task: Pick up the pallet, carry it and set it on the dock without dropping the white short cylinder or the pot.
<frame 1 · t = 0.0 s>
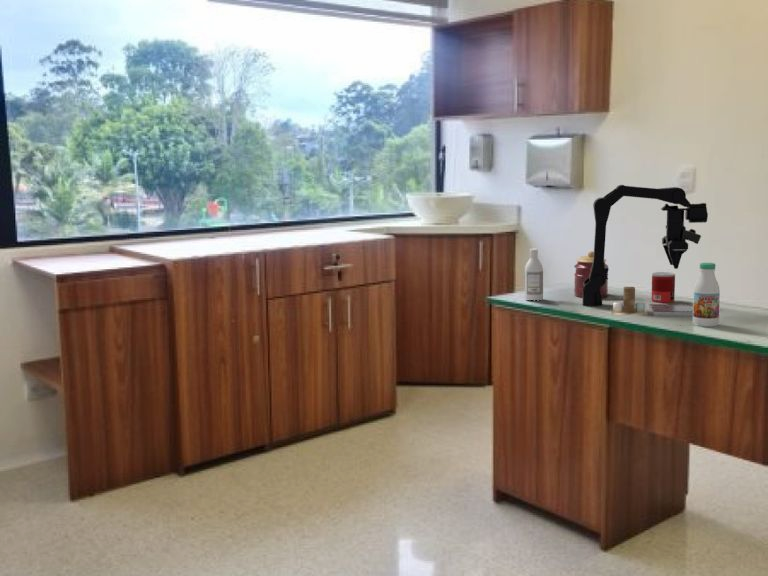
hand: (674, 266, 274), 15 cm above the table, fingers open, 9 cm apart
canister: (590, 296, 304), on the table
milk bottle: (705, 325, 247), on the table
white short cylinder a: (617, 311, 269), point 1 cm above the table, touching pallet
pot b: (640, 311, 267), point 1 cm above the table, touching pallet
pallet: (628, 315, 268), on the table, touching white short cylinder a, pot b
bath foam: (533, 300, 299), on the table
canned food: (662, 303, 285), on the table
dock: (671, 313, 265), on the table
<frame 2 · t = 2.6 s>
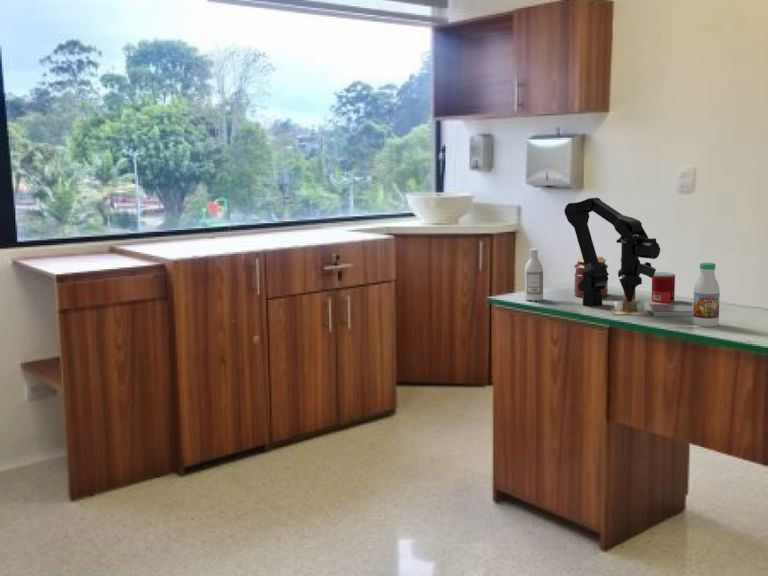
hand: (629, 300, 268), 5 cm above the table, fingers closed on pallet, 3 cm apart
pallet: (629, 313, 268), on the table, touching gripper, white short cylinder a, pot b
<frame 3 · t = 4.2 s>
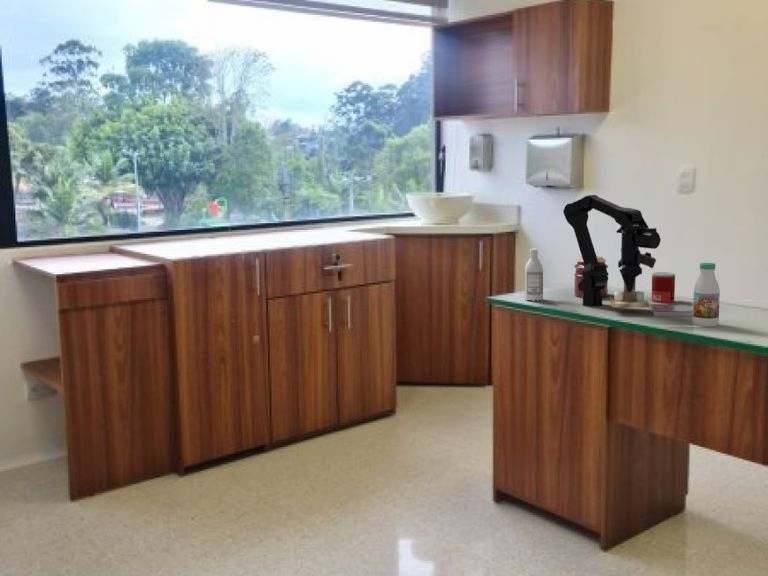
hand: (629, 291, 267), 8 cm above the table, fingers closed on pallet, 3 cm apart
white short cylinder a: (619, 300, 268), point 5 cm above the table, touching pallet
pot b: (639, 300, 267), point 5 cm above the table, touching pallet
pallet: (629, 304, 268), point 3 cm above the table, touching gripper, white short cylinder a, pot b
everything else where it was.
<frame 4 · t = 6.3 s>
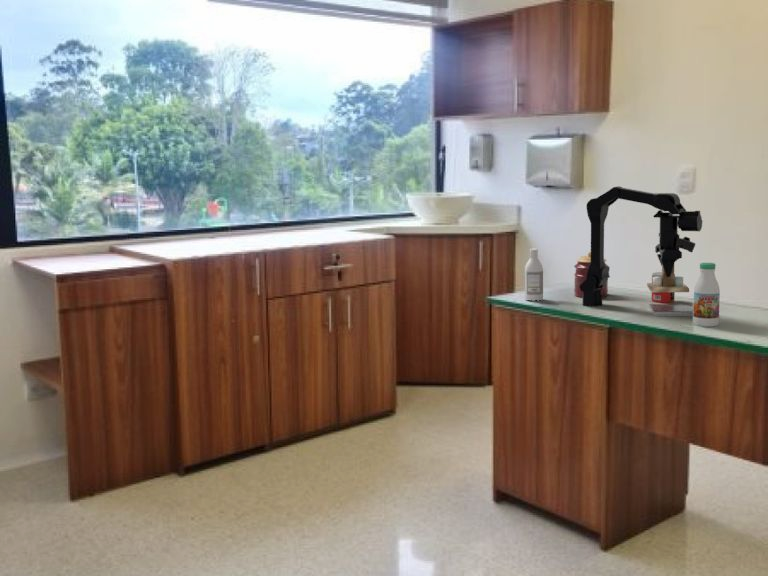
hand: (667, 276, 263), 13 cm above the table, fingers closed on pallet, 3 cm apart
white short cylinder a: (657, 285, 265), point 10 cm above the table, touching pallet
pot b: (678, 285, 263), point 10 cm above the table, touching pallet
pallet: (667, 289, 264), point 9 cm above the table, touching gripper, white short cylinder a, pot b
everything else where it was.
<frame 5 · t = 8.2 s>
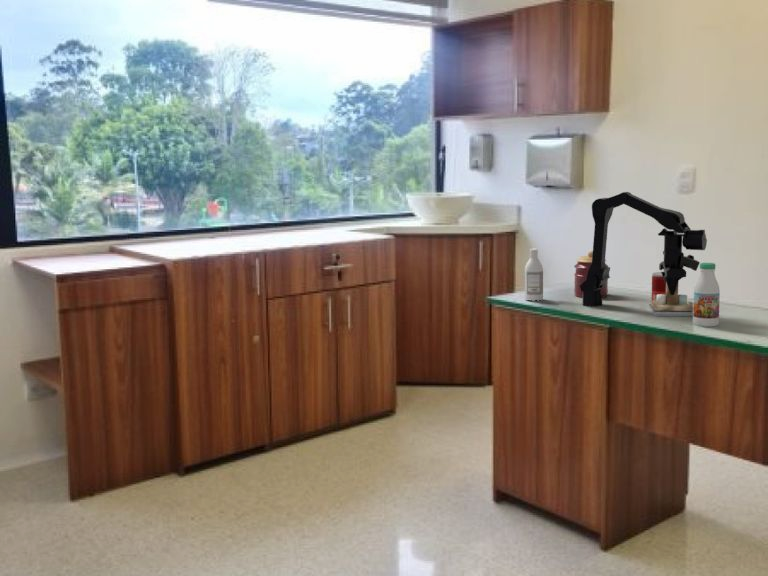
hand: (671, 294, 264), 7 cm above the table, fingers closed on pallet, 3 cm apart
white short cylinder a: (661, 303, 266), point 4 cm above the table, touching pallet
pot b: (681, 303, 264), point 4 cm above the table, touching pallet
pallet: (671, 307, 265), point 2 cm above the table, touching gripper, white short cylinder a, pot b
everything else where it was.
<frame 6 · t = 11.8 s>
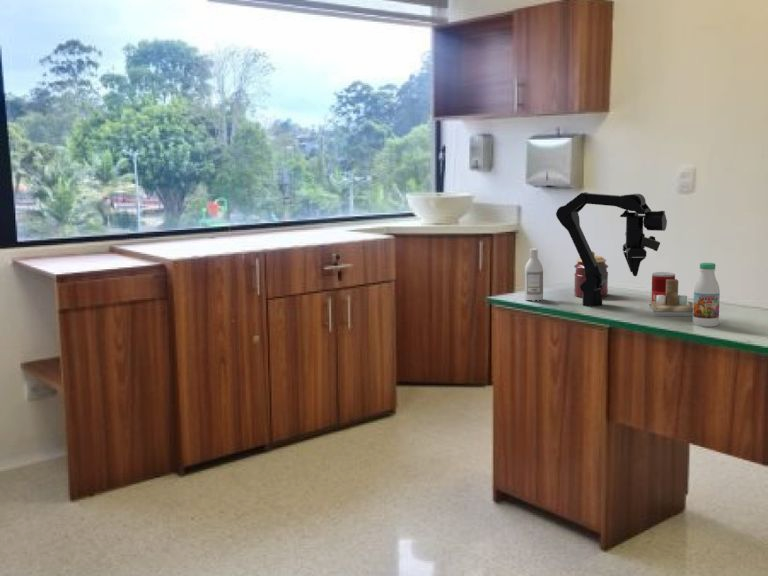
hand: (633, 274, 272), 13 cm above the table, fingers open, 9 cm apart
pallet: (671, 307, 265), point 2 cm above the table, touching dock, white short cylinder a, pot b
everything else where it was.
at the end: pallet inside the target area on the dock (0.0 cm from its centre), point 2.1 cm above the dock's base; white short cylinder a inside the target area on the pallet (3.4 cm from its centre), point 1.2 cm above the pallet's base; pot b inside the target area on the pallet (3.4 cm from its centre), point 1.2 cm above the pallet's base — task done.
